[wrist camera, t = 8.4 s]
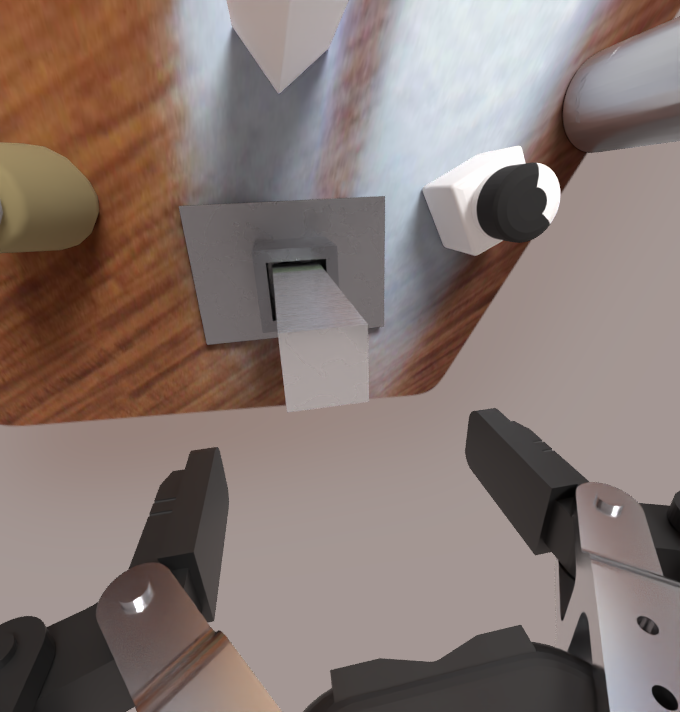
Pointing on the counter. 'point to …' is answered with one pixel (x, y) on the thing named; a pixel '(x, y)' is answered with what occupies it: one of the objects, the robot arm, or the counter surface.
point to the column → (319, 339)
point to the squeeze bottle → (42, 200)
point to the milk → (286, 33)
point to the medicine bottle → (493, 201)
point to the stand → (281, 258)
